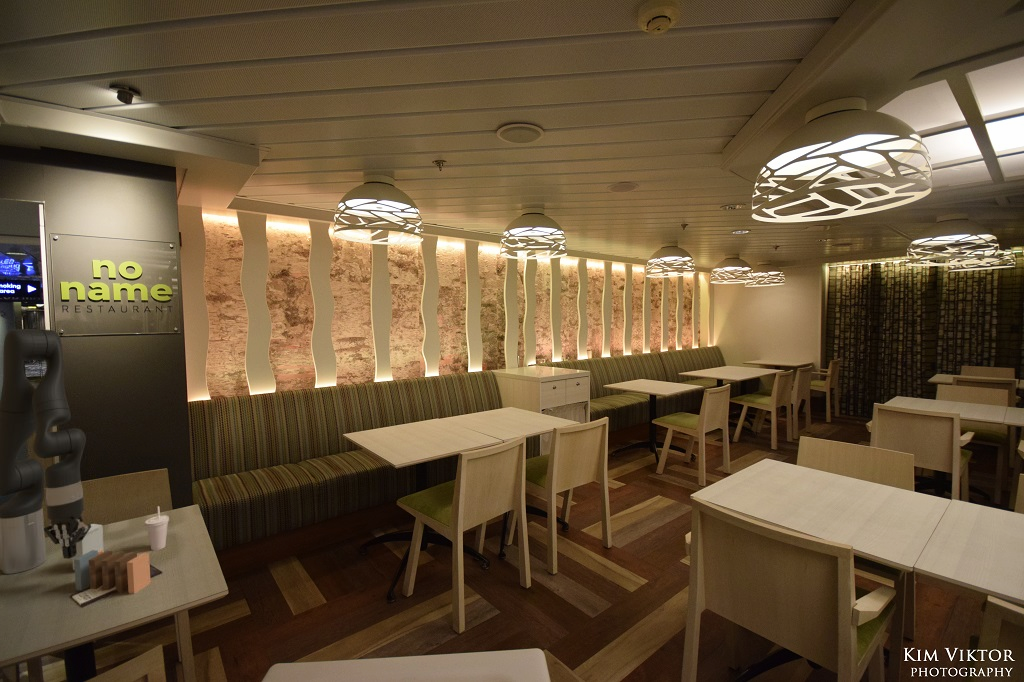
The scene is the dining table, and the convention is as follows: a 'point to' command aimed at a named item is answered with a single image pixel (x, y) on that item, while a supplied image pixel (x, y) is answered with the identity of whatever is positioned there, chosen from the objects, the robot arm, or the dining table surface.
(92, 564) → the domino
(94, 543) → the skincare box
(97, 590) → the chocolate bar
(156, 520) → the smoothie
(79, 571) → the domino
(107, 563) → the domino
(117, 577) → the domino
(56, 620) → the dining table surface
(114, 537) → the dining table surface
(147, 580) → the domino end
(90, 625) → the dining table surface
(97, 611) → the dining table surface
